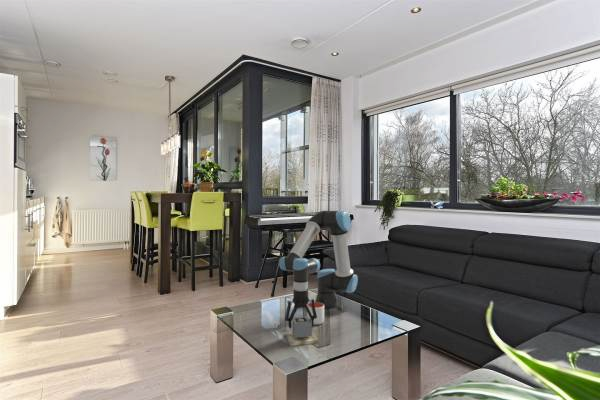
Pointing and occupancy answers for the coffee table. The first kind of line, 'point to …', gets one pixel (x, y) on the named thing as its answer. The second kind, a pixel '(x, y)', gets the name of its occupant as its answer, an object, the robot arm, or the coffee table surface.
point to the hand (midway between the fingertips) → (301, 332)
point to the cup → (317, 313)
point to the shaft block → (300, 338)
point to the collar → (302, 327)
